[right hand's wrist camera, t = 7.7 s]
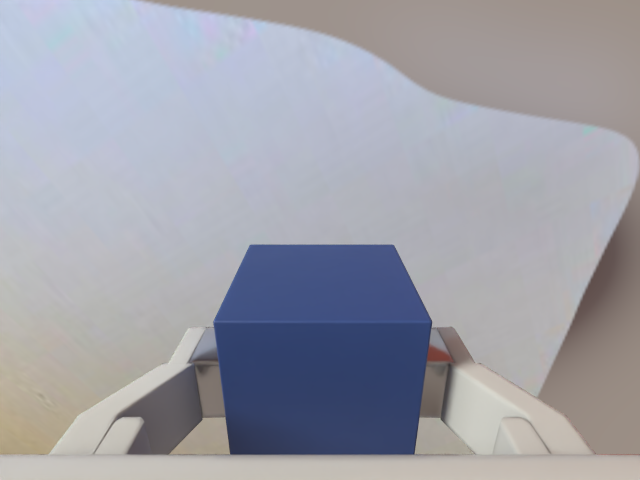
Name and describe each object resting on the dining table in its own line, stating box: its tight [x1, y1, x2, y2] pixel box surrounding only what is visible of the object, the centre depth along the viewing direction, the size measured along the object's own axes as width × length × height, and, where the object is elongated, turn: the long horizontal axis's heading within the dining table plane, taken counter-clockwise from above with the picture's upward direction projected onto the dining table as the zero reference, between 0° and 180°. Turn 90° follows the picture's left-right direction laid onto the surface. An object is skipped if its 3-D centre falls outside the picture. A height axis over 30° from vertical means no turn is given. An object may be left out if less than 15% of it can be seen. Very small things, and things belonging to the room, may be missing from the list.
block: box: [213, 245, 432, 455], centre depth 10 cm, size 5×5×4 cm
